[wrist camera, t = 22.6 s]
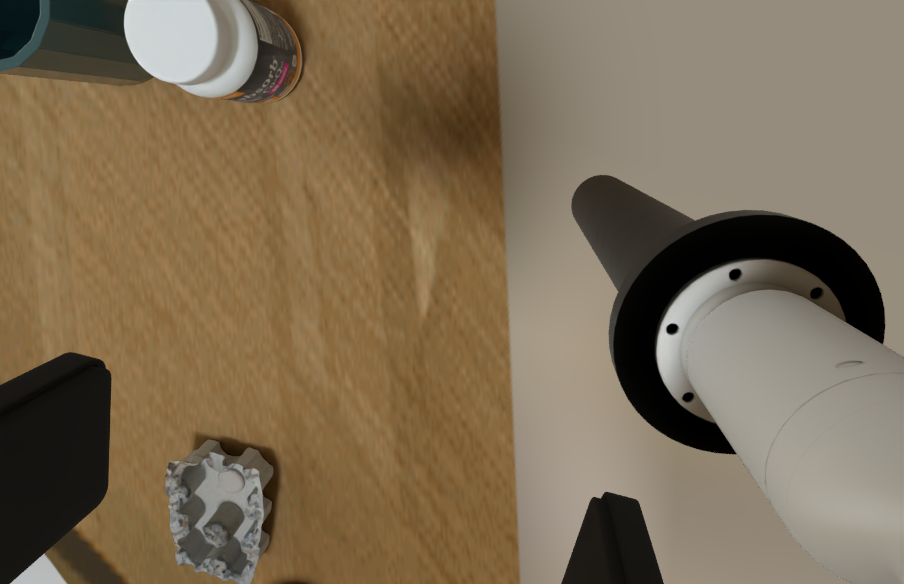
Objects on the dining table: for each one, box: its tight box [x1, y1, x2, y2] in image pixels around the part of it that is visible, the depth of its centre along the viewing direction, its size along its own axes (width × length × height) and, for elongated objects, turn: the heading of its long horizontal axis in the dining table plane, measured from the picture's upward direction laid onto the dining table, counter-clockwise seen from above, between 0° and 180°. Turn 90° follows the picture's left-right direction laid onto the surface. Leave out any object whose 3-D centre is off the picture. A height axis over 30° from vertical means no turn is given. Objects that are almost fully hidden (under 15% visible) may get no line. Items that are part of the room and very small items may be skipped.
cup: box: [0, 0, 153, 86], centre depth 31 cm, size 8×8×10 cm
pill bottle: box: [124, 0, 302, 104], centre depth 31 cm, size 6×6×10 cm
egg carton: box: [165, 440, 274, 584], centre depth 44 cm, size 11×8×4 cm
